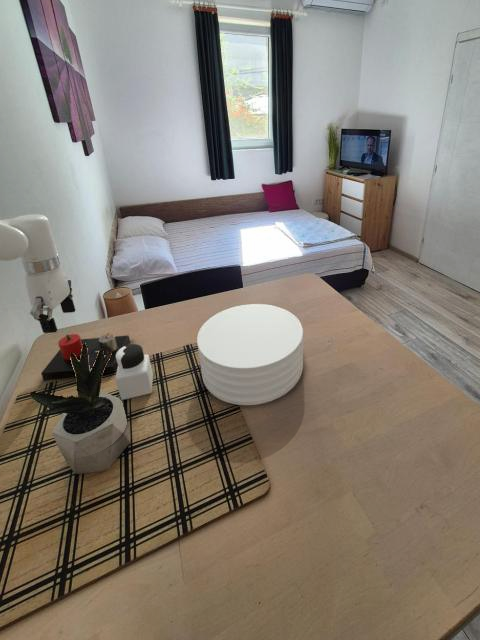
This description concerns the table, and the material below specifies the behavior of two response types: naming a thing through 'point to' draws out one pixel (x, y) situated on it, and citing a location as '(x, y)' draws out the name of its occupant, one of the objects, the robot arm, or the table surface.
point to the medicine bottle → (133, 372)
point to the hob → (64, 368)
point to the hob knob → (108, 343)
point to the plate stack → (251, 353)
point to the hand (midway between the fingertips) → (60, 321)
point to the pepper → (70, 345)
